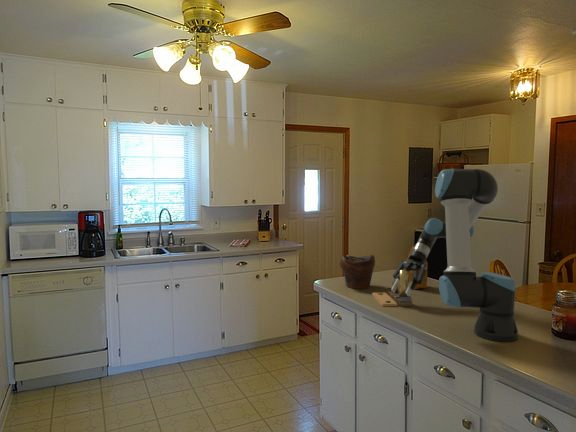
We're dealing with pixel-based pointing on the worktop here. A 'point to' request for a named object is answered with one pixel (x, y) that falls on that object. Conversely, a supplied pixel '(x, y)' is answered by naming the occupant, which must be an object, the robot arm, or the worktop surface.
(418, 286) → the coffee package
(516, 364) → the worktop surface
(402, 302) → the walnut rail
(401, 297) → the brass leg
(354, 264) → the brown basket
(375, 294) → the orange bolt plate
